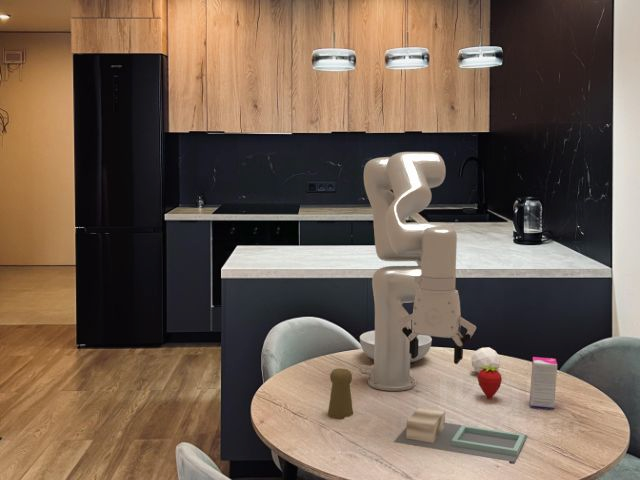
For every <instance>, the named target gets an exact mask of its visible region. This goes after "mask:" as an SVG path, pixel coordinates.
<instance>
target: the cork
mask: <svg viewBox="0 0 640 480" xmlns="http://www.w3.org/2000/svg"><path fill="white" fill-rule="evenodd" d="M329 377H330V382H331V390H330V398H329V404H328V410H327V415H328V417H329V418H332V419H337V420H344V419H345V418H349V417H351V416H353V415H354V409H353V401H352V392H351V391H352V390H351V385H350V384H351V382H352V380H353V373H352V372H351V370H349V369H347V368H336V369H333V370H332V371H331V372H330V374H329Z"/></svg>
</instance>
